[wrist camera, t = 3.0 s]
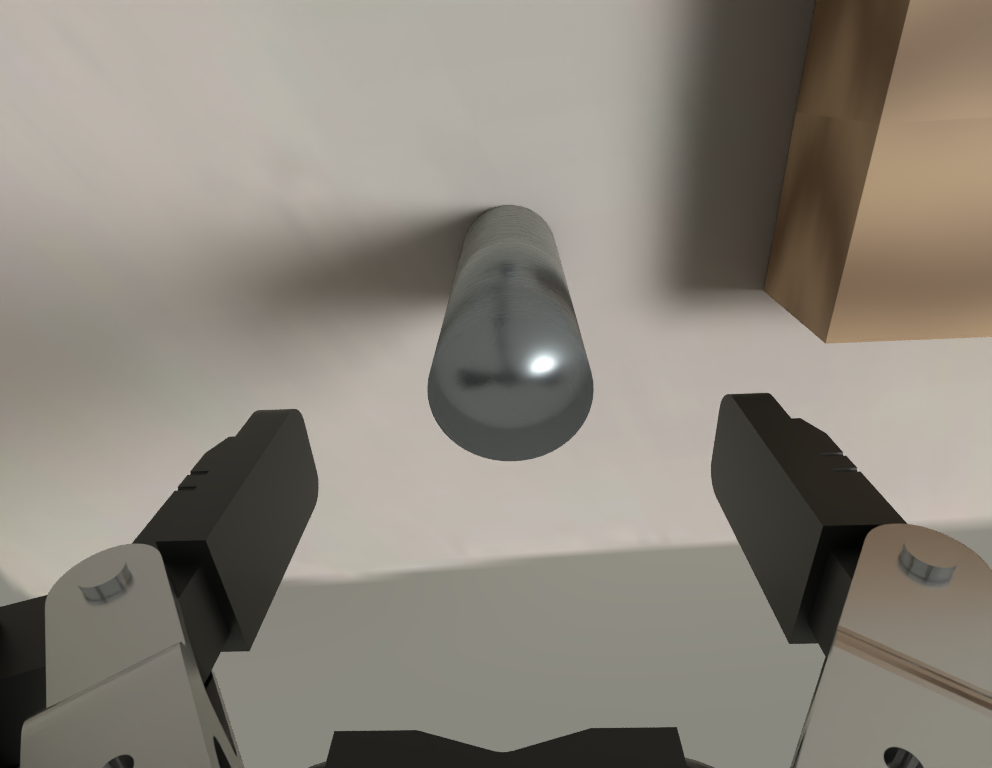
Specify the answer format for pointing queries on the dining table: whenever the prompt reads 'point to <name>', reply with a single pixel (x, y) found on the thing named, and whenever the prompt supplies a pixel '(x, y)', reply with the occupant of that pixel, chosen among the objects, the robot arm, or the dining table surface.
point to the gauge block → (890, 174)
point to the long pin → (510, 344)
